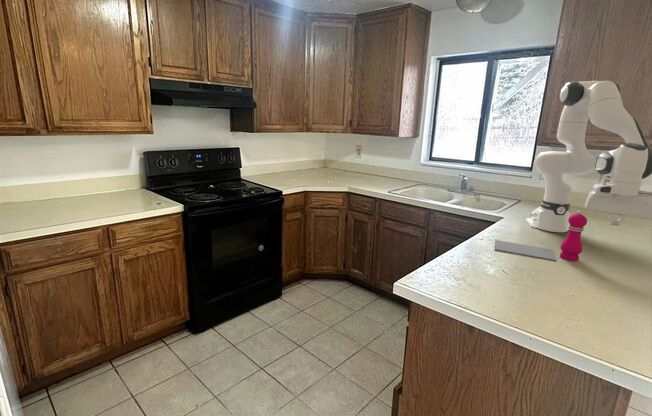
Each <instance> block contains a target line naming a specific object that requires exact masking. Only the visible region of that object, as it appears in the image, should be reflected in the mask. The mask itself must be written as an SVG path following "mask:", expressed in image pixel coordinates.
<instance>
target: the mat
mask: <svg viewBox="0 0 652 416" xmlns="http://www.w3.org/2000/svg"><path fill="white" fill-rule="evenodd" d="M494 251H496V252H502V253H507V254H513V255H520V256H524V257H529V258H536V259H541V260H545V261H552V262H557V257H556V254H555V252H554V249H553V248H545V247H541V246H540V247H539V246H533V245H529V244H521V243H517V242H516V243H515V242H511V241H505V240H504V241H503V240H498V239H495V243H494Z"/></svg>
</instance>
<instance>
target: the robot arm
mask: <svg viewBox="0 0 652 416" xmlns="http://www.w3.org/2000/svg"><path fill="white" fill-rule="evenodd" d="M559 102H560V103H561V105H563V109H562V111H561V114H560V118H559V122H558V127H557V132H556V139H557V141H558V142H559V143H561V144H563V145H565V148H566V151H559V150H558V151H557V150H550V151H541V152H539V153H538V154H537V156H536V157H535V160H534V167H535V169H536V171H537V172H539V173H540V174H541V176H542V177H543V179H544V183H545V187H544V188H545V189H544V196H543V198H542V199H541V201H540V206H538V207H537V208H536V209H534V210H533V211H532V212H530V214H529V216H530V217H526V218H525V222H527V224H528V225H529V226H530V227H531V228H534V229H540V230H543V231H546V232H553V233H566V232H569V229H568V227H569V225H570V224H569V222H568V219H569V217H570V216H571V213H569V211H570V208H571V203H570V202H571V197H572V193H573V187H572V186H571V185H570V184H569V183H568V182H566V181H564V180H563V175H566V176H567V175H569V176H570V175H571V176H584V175H589V174H590V173H592V172H593V171H594V170H596V172H597V173H598V174H599V175H601V176H606V177H610V178H609V179H610V180H609V181H607V182H600V183H594V184H593V185H592V190H591V191H590V192H589V193H588V195H587V197H586V200H585V202H584V208H585V210H587V211H591V212H592V211H593V212H601V213H607V217H608V218H609V221H608V225H610V226H617V227H620V226H621V222H623V221H624V220H626V218H627V216H631V217H640V218H648V219H649V218H650V219H651V218H652V191H647V190H641V186H642V182H643V181H642V180H644V179H646V178H648V177H649V176H651V175H652V151H651V149H650V148H649V146H648V143H647V141H646V138H645V137H644V136H645V135H644V134H643V132H642V129H641V126H640V124H639V123H638V121H637V119H635V117H633V116H631V115H630V113H629V112H628V111H627V110H626V108H625V107H624V104H623V100H622V97H621V88H620V85H619V84H618V83H616V82H613V81H611V80H585V81H578V80H577V81H570V82H566V83H565V85H563V87H561V90H560V93H559ZM589 121H590V122H591V124H592V125H593V126H595V127H597V128H599V129H601V130H605V131H608V132H612V133H614V134H617V135H618V136H620V137H621V138H622V139H623V140H624V142H625V143H622V144H620V145H619V147H617V148H615V149H612V150H608V151H607V150H606V151H603V152H601V153H600V154H599V155H598V156H597V158H595V156H594V155H593V154H592V153H591V152H589V150H588V149H587V146H586V141H585V138H586V131H587V127H588V122H589ZM614 215H619V218H618V219H613V217H614Z"/></svg>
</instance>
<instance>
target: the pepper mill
mask: <svg viewBox="0 0 652 416" xmlns="http://www.w3.org/2000/svg"><path fill="white" fill-rule="evenodd" d="M568 222H569V227H568V229H569V230H568V234H567V236H566V237H565V239H564V240H562V242H561V244H560V247H559V248H560V251H561V252H560V254H559V258H561V259H562V260H564V261H569V262H573V263H575V262H578V261H579V260H580V254H582V253H583V245H582V240H581V235H582V232H584V227H586V225H587V223H588V219H587V217H586V216H585V215H583V212H582V210H577V211H576V213H574V214H570V217H569V219H568Z"/></svg>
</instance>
